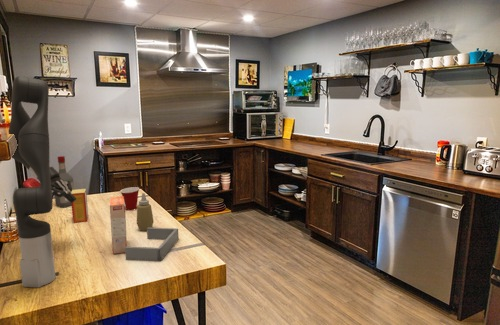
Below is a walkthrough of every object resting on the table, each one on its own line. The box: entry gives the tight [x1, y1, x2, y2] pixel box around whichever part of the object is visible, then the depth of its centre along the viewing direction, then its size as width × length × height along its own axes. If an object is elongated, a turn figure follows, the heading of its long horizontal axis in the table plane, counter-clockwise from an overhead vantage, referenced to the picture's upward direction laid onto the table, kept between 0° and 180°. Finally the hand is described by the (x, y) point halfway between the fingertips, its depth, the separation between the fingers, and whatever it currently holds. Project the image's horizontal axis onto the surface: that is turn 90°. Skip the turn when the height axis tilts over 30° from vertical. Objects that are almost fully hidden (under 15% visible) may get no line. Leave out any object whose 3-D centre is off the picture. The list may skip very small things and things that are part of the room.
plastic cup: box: [119, 186, 140, 211], centre depth 200 cm, size 11×11×12 cm
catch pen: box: [124, 227, 179, 262], centre depth 145 cm, size 22×14×5 cm, turn 174°
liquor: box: [54, 155, 75, 209], centre depth 206 cm, size 9×9×30 cm
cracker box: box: [109, 195, 128, 255], centre depth 145 cm, size 14×6×21 cm, turn 21°
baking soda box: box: [71, 188, 89, 224], centre depth 181 cm, size 10×6×16 cm
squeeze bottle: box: [136, 192, 155, 232], centre depth 167 cm, size 8×8×18 cm
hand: (74, 201), depth 146 cm, fingers closed
